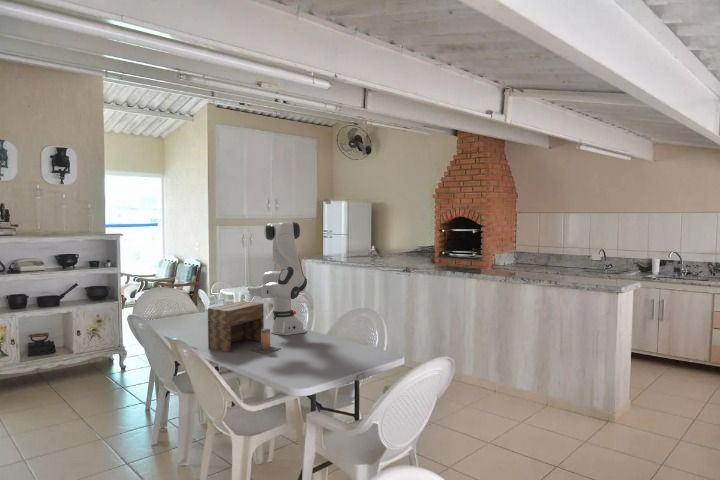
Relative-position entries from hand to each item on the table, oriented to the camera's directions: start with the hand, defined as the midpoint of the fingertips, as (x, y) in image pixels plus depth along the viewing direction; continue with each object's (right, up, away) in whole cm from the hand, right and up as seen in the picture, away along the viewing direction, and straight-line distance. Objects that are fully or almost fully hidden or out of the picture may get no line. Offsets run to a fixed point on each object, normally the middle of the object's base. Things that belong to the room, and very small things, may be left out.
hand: (254, 287), depth 294 cm
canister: (+8, -33, -8) cm, 35 cm away
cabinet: (-11, -33, +3) cm, 35 cm away
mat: (+8, -34, -8) cm, 36 cm away
